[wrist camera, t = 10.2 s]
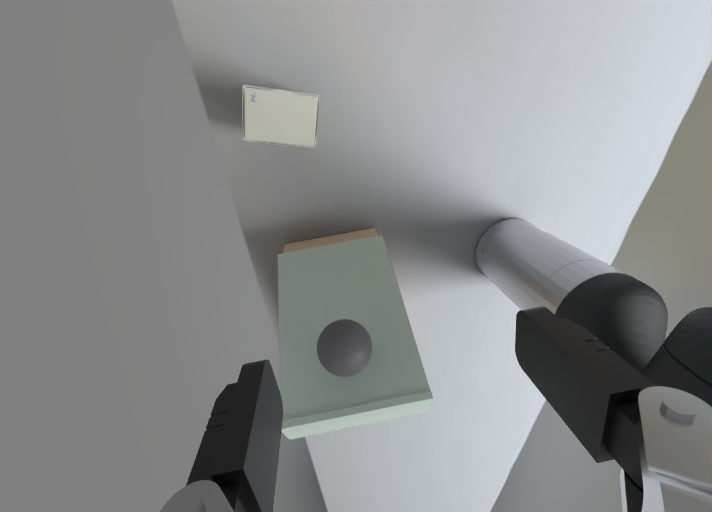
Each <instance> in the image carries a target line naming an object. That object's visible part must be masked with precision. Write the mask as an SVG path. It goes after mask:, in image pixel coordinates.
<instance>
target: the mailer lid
mask: <svg viewBox="0 0 712 512" xmlns="http://www.w3.org/2000/svg"><path fill="white" fill-rule="evenodd" d="M278 316H279V374H280V375H279V377H280V379H279V381H280V394H281V398H282V404H283V421H282V430H281V431H282V432H283V433H284V434H285V435H286V436H287V438H288V439H295V438H299V437H305V436H309V435H314V434H319V433H324V432H329V431H334V430H339V429H344V428H349V427H353V426H358V425H363V424H368V423H373V422H378V421H383V420H388V419H392V418H397V417H402V416H407V415H412V414H417V413H422V412H427V411H430V410H431V405H432V400H433V397H432V393H431V391H430V388H429V385H428V381H427V378H426V375H425V372H424V368H423V365H422V362H421V359H420V355H419V352H418V349H417V345H416V342H415V339H414V336H413V332H412V329H411V326H410V323H409V319H408V316H407V313H406V310H405V306H404V303H403V300H402V296H401V293H400V290H399V287H398V283H397V280H396V277H395V274H394V270H393V267H392V264H391V260H390V257H389V254H388V251H387V247H386V244H385V241H384V238H383V235H379V236H374V237H368V238H363V239H357V240H352V241H347V242H341V243H336V244H330V245H325V246H319V247H314V248H309V249H303V250H298V251H292V252H287V253H282V254H278Z"/></svg>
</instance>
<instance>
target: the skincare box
mask: <svg viewBox="0 0 712 512" xmlns="http://www.w3.org/2000/svg"><path fill="white" fill-rule="evenodd" d="M319 107H320V96H319V95H317V94H310V93H303V92H296V91H289V90H281V89H273V88H265V87H258V86H249V85H243V94H242V128H243V139H244V140H245V141H251V142H257V143H263V144H272V145H282V146H293V147H307V148H315V146H316V138H317V129H318V120H319Z"/></svg>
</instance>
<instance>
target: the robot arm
mask: <svg viewBox="0 0 712 512" xmlns="http://www.w3.org/2000/svg"><path fill="white" fill-rule="evenodd" d="M476 262H477V265H478V267H479V268H480V270H481V271H482V272H483V273H484V274H485V275H486V276H487V277H488V278H489V279H490V280H491V281H492V282H493V283H494V284H495V285H496V286H497V287H498V288H499V289H500V290H501V291H502V292H503V293H504V294H505V295H506V296H507V297H508V298H509V299H510V300H511V301H512V302H513V303H514V304H515V305H516V306H517V307H519V308H520V309H521V311H519V312H518V313H517V317H516V342H515V352H516V357H517V360H518V362H519V364H520V366H521V368H522V369H523V371H524V372H525V373H526V374H527V376H528V377H529V378H530V379H531V381H532V382H533V383H534V384H535V386H536V387H537V388H538V389H539V391H540V392H541V393H542V394H543V396H544V397H545V398H546V400H547V401H548V402H549V403H550V404H551V406H552V407H553V408H554V410H555V411H556V412H557V413H558V414H559V416H560V417H561V418H562V420H563V421H564V422H565V423H566V425H567V426H568V427H569V428H570V429H571V431H572V432H573V433H574V434H575V436H576V437H577V438H578V440H579V441H580V442H581V443H582V445H583V446H584V447H585V448H586V449H587V451H588V452H589V453H590V455H591V456H592V457H593V458H594V460H595V461H596V462H597V463H599V462H604V461H608V460H613V459H615V460H616V461H617V463H618V464H619V465H620V466H621V467H622V468H621V472H620V481H621V495H622V508H623V512H712V307H705V308H699V309H696V310H694V311H692V312H690V313H689V314H687V315H686V316H685V317H684V318H683V319H682V320H681V321H680V322H679V323H678V324H677V326H676V327H675V328H674V330H673V331H672V332H671V333H670V334H669V336H668V337H667V338H666V340H665V335H666V329H667V322H668V314H667V308H666V305H665V303H664V301H663V299H662V297H661V296H660V295H659V294H658V293H657V292H656V291H655V290H654V289H653V288H651V287H649V286H648V285H646V284H645V283H643V282H641V281H639V280H637V279H635V278H633V277H631V276H629V275H627V274H625V273H623V272H621V271H620V270H618V269H616V268H614V267H612V266H610V265H608V264H606V263H604V262H602V261H600V260H598V259H596V258H594V257H593V256H591V255H589V254H587V253H585V252H583V251H581V250H579V249H577V248H576V247H574V246H572V245H570V244H568V243H566V242H564V241H562V240H560V239H558V238H557V237H555V236H553V235H551V234H549V233H547V232H545V231H544V230H542V229H540V228H538V227H536V226H534V225H532V224H530V223H528V222H526V221H524V220H521V219H506V220H503V221H500V222H498V223H496V224H494V225H493V226H492V227H490V228H489V229H488V230H487V231H486V232H485V233H484V234H483V235H482V237H481V239H480V240H479V243H478V245H477V248H476ZM282 421H283V404H282V398H281V394H280V391H279V388H278V385H277V382H276V379H275V376H274V373H273V370H272V367H271V365H270V362H269V360H263V361H257V362H252V363H247V364H244V365H243V366H242V368H241V372H240V375H239V378H238V382H237V383H233V384H228V385H227V386H226V387H225V389H224V390H223V391H222V393H221V394H220V395H219V396H218V398H217V399H216V401H215V404H214V407H213V410H212V413H211V418H209V421H208V425H207V427H206V429H207V431H205V433H204V436H203V439H202V442H201V445H200V448H199V450H198V453H197V456H196V459H195V462H194V465H193V467H192V470H191V473H190V476H189V479H188V482H187V484H186V486H185V487H184V488H182V489H181V490H179V491H178V492H177V493H175V494H174V495H173V496H172V497H171V498H170V499H169V500H168V501H167V503H166V504H165V505H164V507H163V508H162V510H161V511H160V512H273V504H274V494H275V485H276V476H277V467H278V458H279V447H280V439H281V430H282Z"/></svg>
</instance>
